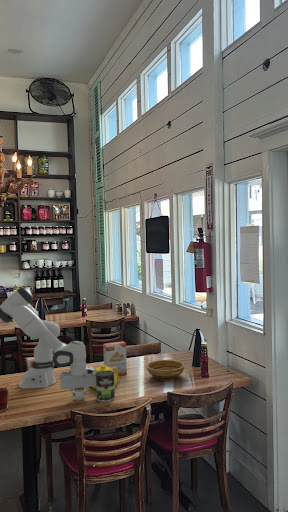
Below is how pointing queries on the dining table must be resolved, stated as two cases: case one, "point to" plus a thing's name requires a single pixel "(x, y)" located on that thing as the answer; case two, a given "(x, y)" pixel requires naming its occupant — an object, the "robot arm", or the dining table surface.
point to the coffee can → (105, 386)
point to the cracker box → (116, 356)
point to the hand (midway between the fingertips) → (79, 395)
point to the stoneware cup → (79, 393)
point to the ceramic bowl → (165, 369)
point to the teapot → (106, 368)
